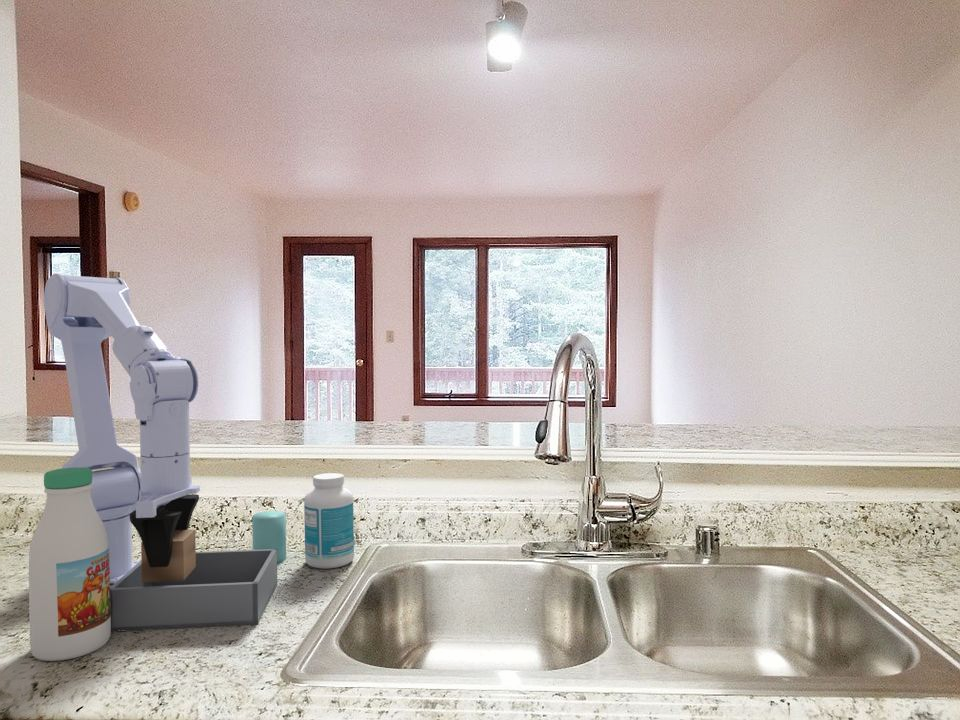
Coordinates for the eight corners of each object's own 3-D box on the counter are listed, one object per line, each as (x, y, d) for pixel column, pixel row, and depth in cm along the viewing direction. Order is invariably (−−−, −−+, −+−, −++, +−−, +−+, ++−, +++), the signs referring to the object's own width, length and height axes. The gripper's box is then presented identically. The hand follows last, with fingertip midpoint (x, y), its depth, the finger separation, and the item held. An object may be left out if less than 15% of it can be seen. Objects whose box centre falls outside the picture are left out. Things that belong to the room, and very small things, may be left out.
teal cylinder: (249, 565, 101) (249, 520, 101) (256, 554, 106) (256, 511, 106) (283, 564, 101) (282, 519, 101) (288, 553, 106) (288, 510, 106)
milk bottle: (25, 669, 69) (21, 480, 68) (35, 639, 76) (31, 467, 75) (109, 653, 73) (106, 473, 72) (112, 626, 79) (109, 461, 79)
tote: (107, 631, 78) (106, 590, 78) (149, 589, 91) (148, 553, 91) (258, 624, 80) (257, 583, 80) (277, 583, 93) (277, 548, 93)
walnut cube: (141, 582, 82) (141, 542, 82) (156, 568, 87) (155, 530, 87) (183, 580, 83) (183, 540, 83) (195, 566, 88) (195, 529, 88)
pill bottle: (359, 555, 106) (359, 471, 105) (345, 571, 98) (345, 481, 98) (314, 553, 106) (313, 470, 106) (297, 569, 99) (296, 480, 99)
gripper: (179, 463, 78) (181, 577, 78) (213, 444, 92) (214, 540, 92) (116, 465, 77) (118, 580, 77) (160, 445, 91) (162, 542, 92)
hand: (167, 558), depth 85 cm, fingers closed on walnut cube, 5 cm apart
